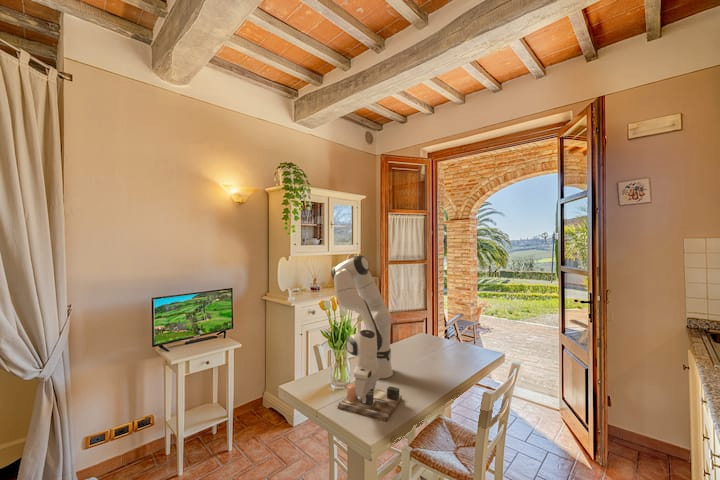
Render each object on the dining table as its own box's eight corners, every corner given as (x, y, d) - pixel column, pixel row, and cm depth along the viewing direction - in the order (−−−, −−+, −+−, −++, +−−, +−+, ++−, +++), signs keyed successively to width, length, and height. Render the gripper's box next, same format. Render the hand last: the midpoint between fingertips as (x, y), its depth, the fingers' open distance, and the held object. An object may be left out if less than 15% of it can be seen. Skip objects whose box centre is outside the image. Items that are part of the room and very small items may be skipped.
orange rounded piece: (345, 400, 143) (345, 387, 143) (350, 395, 148) (350, 383, 148) (354, 403, 141) (354, 390, 141) (359, 398, 146) (359, 385, 146)
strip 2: (367, 398, 147) (367, 386, 147) (373, 391, 153) (373, 380, 153) (395, 405, 141) (395, 393, 141) (400, 397, 147) (400, 386, 147)
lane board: (337, 408, 141) (337, 403, 141) (357, 388, 159) (357, 384, 159) (386, 421, 131) (386, 416, 131) (401, 398, 149) (401, 394, 149)
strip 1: (341, 403, 143) (341, 391, 143) (348, 396, 149) (348, 384, 149) (368, 410, 137) (368, 398, 137) (375, 402, 143) (375, 390, 143)
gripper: (370, 357, 152) (371, 385, 152) (352, 375, 133) (352, 407, 133) (382, 359, 149) (383, 388, 149) (365, 377, 131) (366, 410, 131)
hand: (368, 397), depth 141 cm, fingers open, 8 cm apart
